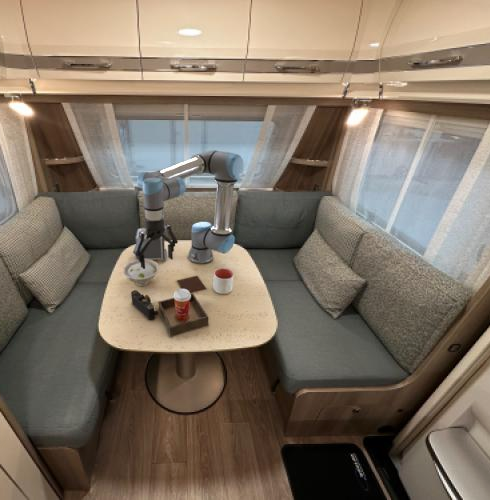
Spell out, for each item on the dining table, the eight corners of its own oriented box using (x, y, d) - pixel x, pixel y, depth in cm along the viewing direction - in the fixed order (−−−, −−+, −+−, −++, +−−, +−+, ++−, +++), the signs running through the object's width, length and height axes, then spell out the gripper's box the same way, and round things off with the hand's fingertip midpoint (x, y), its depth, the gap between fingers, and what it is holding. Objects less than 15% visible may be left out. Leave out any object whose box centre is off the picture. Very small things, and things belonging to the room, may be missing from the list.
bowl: (167, 279, 148) (166, 264, 143) (143, 298, 134) (142, 282, 129) (141, 268, 157) (139, 253, 152) (116, 284, 143) (114, 269, 138)
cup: (218, 281, 147) (219, 266, 142) (234, 287, 142) (236, 271, 137) (209, 291, 139) (210, 275, 134) (227, 297, 135) (228, 281, 130)
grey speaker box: (165, 250, 175) (164, 225, 166) (165, 261, 164) (164, 234, 155) (137, 251, 174) (135, 225, 165) (135, 262, 163) (132, 235, 154)
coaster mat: (197, 276, 151) (197, 275, 150) (206, 288, 141) (206, 288, 141) (177, 281, 147) (177, 280, 146) (184, 294, 137) (184, 293, 137)
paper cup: (170, 316, 123) (169, 293, 116) (182, 308, 127) (182, 285, 120) (182, 326, 118) (181, 301, 111) (194, 317, 123) (194, 293, 116)
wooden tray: (192, 300, 133) (192, 292, 130) (207, 325, 118) (208, 317, 116) (158, 309, 127) (158, 301, 124) (170, 336, 113) (169, 328, 110)
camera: (161, 315, 124) (160, 301, 120) (149, 322, 120) (148, 308, 116) (141, 297, 134) (140, 284, 130) (130, 303, 130) (128, 290, 126)
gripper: (176, 208, 115) (176, 251, 126) (121, 221, 103) (127, 267, 114) (185, 214, 110) (185, 258, 121) (129, 228, 98) (134, 275, 108)
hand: (157, 262), depth 117 cm, fingers open, 13 cm apart
